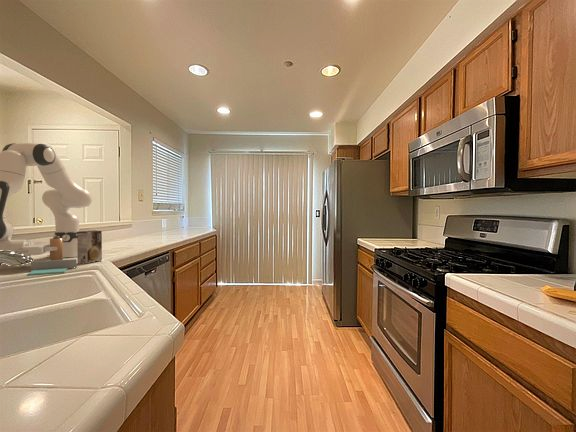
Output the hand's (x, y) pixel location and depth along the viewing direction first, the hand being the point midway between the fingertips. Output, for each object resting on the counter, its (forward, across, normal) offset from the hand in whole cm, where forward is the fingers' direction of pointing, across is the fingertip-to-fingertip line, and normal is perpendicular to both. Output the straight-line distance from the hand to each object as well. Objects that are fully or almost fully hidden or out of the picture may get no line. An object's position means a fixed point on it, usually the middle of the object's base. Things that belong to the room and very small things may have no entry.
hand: (58, 247), depth 145 cm
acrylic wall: (0, -12, +8) cm, 14 cm away
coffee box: (+12, +5, +9) cm, 16 cm away
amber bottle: (-1, 0, +8) cm, 9 cm away
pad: (-1, -18, +8) cm, 20 cm away
